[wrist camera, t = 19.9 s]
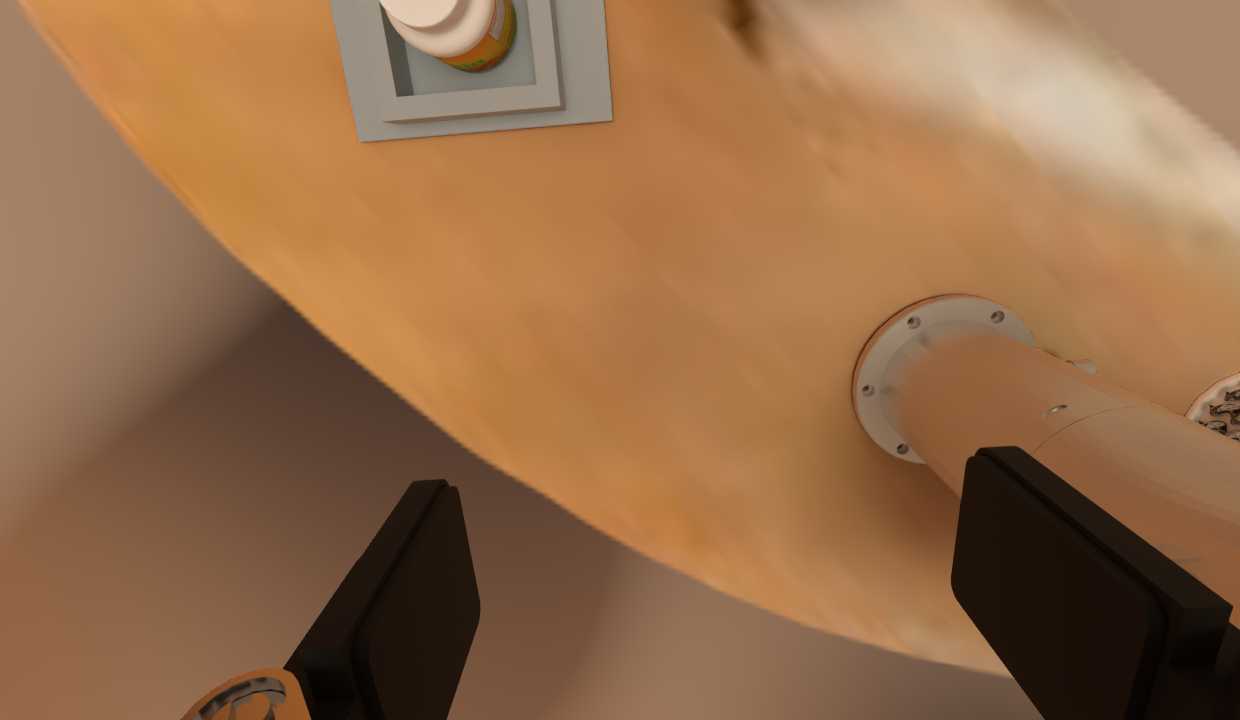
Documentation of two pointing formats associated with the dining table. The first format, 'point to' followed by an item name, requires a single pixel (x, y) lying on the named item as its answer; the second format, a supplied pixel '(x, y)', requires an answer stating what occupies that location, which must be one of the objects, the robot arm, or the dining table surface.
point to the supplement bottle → (457, 30)
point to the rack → (476, 74)
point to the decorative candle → (1219, 407)
